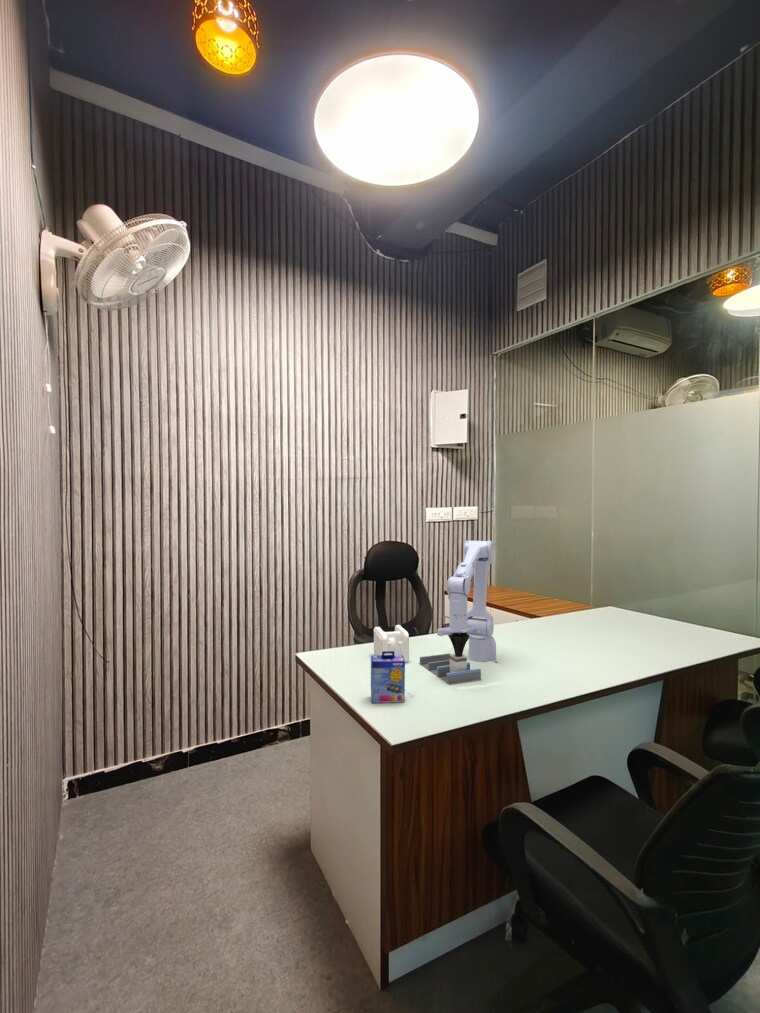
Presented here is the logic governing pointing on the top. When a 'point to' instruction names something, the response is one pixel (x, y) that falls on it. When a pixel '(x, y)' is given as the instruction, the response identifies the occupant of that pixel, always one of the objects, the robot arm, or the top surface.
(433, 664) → the grey slotted rack
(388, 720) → the top surface
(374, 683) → the ink cartridge box
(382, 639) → the cable organizer
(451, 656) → the beige block
